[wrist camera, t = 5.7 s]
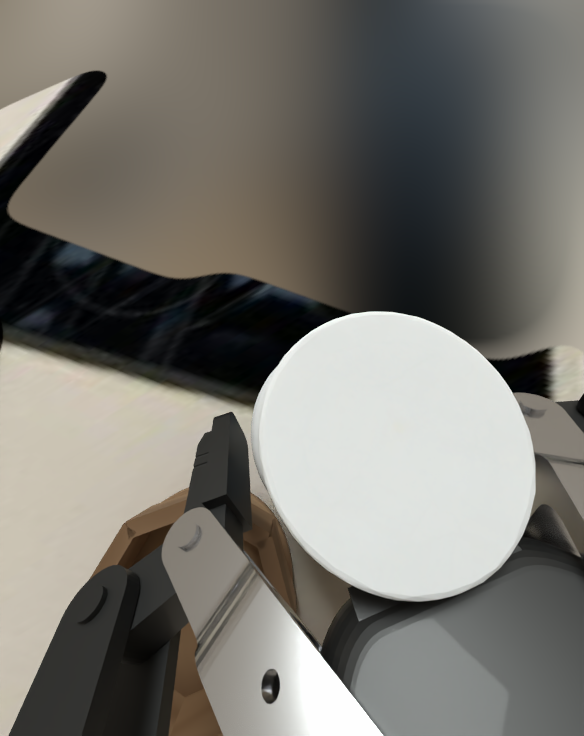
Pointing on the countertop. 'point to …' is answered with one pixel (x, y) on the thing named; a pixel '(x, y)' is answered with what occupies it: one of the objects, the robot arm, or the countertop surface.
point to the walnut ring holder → (190, 702)
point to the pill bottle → (395, 456)
